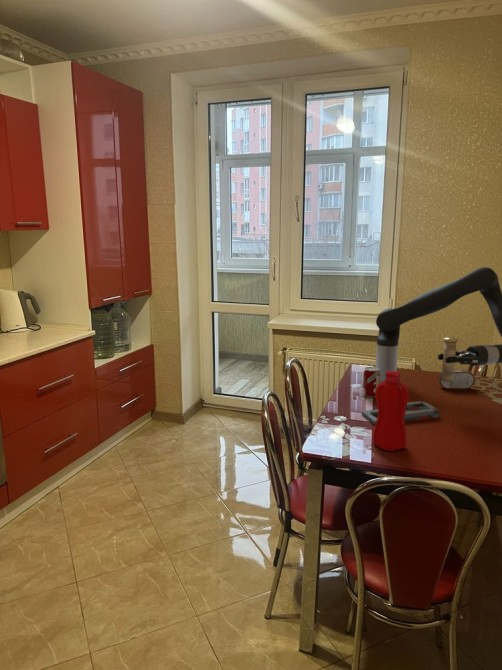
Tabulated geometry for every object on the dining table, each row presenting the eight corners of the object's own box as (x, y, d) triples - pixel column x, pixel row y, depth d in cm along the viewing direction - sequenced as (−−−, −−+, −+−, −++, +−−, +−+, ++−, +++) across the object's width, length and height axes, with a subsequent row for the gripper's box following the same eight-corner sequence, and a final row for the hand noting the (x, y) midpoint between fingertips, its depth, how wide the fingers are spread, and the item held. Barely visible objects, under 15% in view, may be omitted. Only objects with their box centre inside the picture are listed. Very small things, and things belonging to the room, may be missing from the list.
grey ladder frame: (374, 425, 172) (374, 417, 171) (361, 414, 181) (362, 407, 181) (438, 417, 177) (439, 410, 177) (423, 408, 187) (423, 400, 186)
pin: (437, 378, 181) (440, 337, 177) (448, 377, 182) (452, 336, 178) (445, 382, 176) (449, 340, 172) (457, 381, 177) (460, 339, 174)
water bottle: (390, 456, 148) (394, 379, 143) (368, 442, 158) (371, 369, 152) (414, 450, 152) (419, 375, 146) (391, 437, 162) (395, 366, 156)
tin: (472, 387, 210) (474, 369, 208) (475, 390, 207) (476, 371, 205) (437, 387, 211) (438, 368, 210) (439, 389, 208) (440, 370, 207)
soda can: (361, 397, 199) (362, 370, 197) (364, 392, 205) (365, 365, 203) (378, 399, 197) (379, 371, 194) (380, 394, 203) (381, 367, 200)
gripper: (470, 341, 186) (431, 344, 182) (497, 350, 173) (455, 353, 169) (468, 359, 188) (430, 363, 184) (494, 370, 174) (453, 373, 170)
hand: (442, 358), depth 176 cm, fingers closed on pin, 4 cm apart
